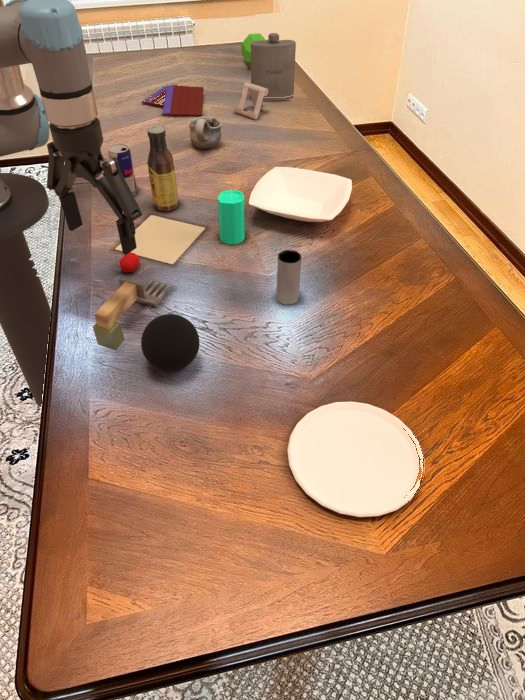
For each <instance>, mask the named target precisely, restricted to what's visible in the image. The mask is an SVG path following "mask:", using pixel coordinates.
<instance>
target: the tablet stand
mask: <svg viewBox="0 0 525 700" xmlns="http://www.w3.org/2000/svg"><path fill="white" fill-rule="evenodd" d="M248 92H249V95H250V99H251V102H252V104H253V108H254V111H251V110H247V111H245V110H244V109H245V105H246V100H247V96H248ZM267 94H268V89H267V88H264V87H261V86H257V85H254V84H251V82H248V81H245V83H244V84H243V88H242V93H241V96H240V101H239V105H238V106H237V105H236V106H234V113H236V114H239V115H242V116H245V117H247V118H250V119H252V120H257V119H258V118H259V116H258V115H260V112H261V111H262V112H264V113H265V112H266V109H265V104H264V101H262V100H263V96H266V95H267ZM254 105H255V106H254ZM262 108H264V109H262Z"/></svg>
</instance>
